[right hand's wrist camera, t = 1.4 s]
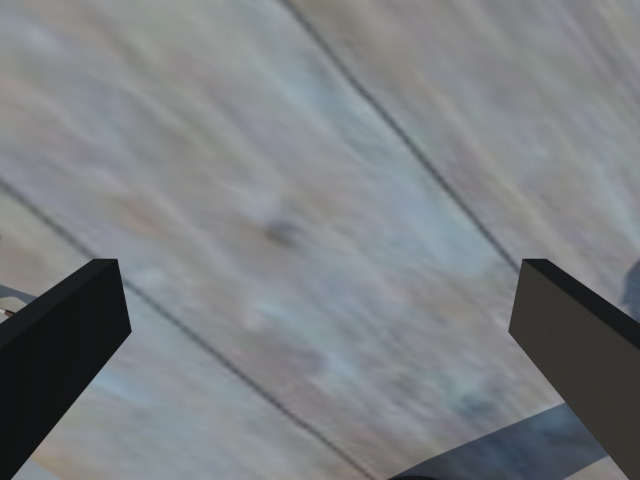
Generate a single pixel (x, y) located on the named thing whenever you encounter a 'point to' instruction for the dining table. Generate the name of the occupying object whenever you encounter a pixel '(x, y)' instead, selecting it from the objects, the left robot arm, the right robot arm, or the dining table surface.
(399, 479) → the left robot arm
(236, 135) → the dining table surface
